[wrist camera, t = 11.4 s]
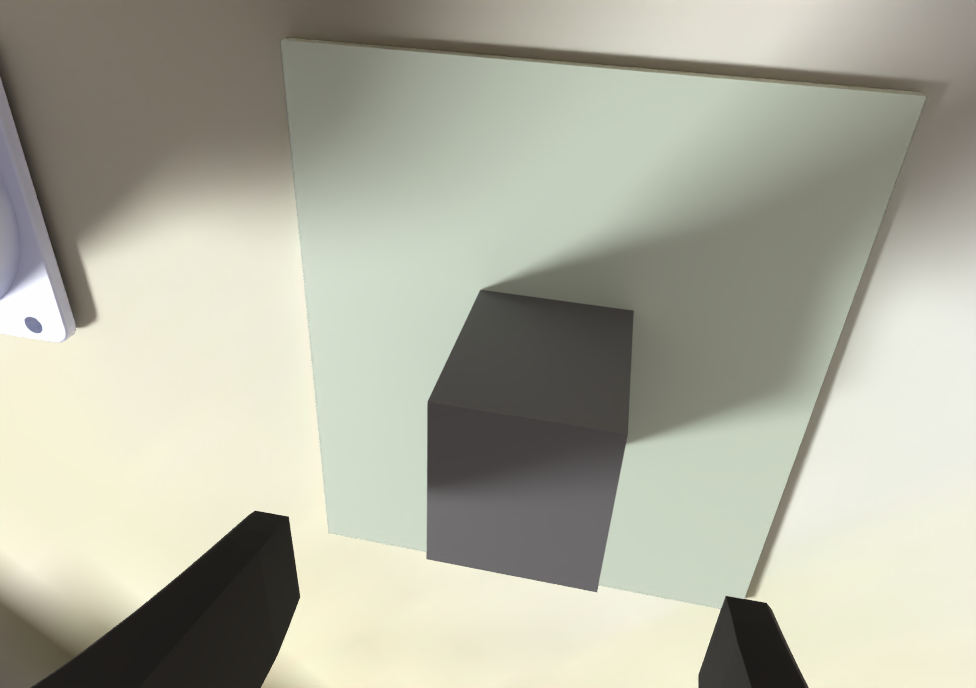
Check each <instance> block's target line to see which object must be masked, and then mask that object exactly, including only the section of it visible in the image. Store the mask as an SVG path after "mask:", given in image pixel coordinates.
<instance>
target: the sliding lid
mask: <svg viewBox="0 0 976 688" xmlns="http://www.w3.org/2000/svg"><path fill="white" fill-rule="evenodd" d="M280 42H281V53H282V63H283V73H284V83H285V93H286V104H287V114H288V124H289V134H290V144H291V155H292V165H293V175H294V185H295V195H296V206H297V216H298V226H299V236H300V246H301V257H302V267H303V277H304V287H305V297H306V308H307V318H308V328H309V338H310V348H311V359H312V369H313V379H314V389H315V399H316V410H317V420H318V430H319V440H320V450H321V461H322V471H323V481H324V491H325V501H326V512H327V522H328V532H329V533H331V534H336V535H341V536H346V537H351V538H356V539H362V540H367V541H372V542H377V543H382V544H387V545H393V546H398V547H403V548H408V549H413V550H418V551H424V552H427V559H429V560H434V561H440V562H445V563H450V564H455V565H460V566H465V567H470V568H475V569H481V570H486V571H491V572H496V573H501V574H506V575H511V576H516V577H522V578H527V579H532V580H537V581H542V582H547V583H552V584H557V585H563V586H568V587H573V588H578V589H583V590H588V591H593V592H597V589H598V585H599V586H605V587H610V588H615V589H620V590H625V591H630V592H636V593H641V594H646V595H651V596H656V597H661V598H667V599H672V600H677V601H682V602H687V603H692V604H698V605H703V606H708V607H713V608H718V609H721V608H722V605H723V602H724V599H725V596H730V597H736V598H741V599H744V598H745V596H746V593H747V590H748V587H749V585H750V582H751V579H752V576H753V574H754V571H755V568H756V565H757V563H758V560H759V557H760V554H761V552H762V549H763V546H764V543H765V541H766V538H767V535H768V532H769V530H770V527H771V524H772V521H773V519H774V516H775V513H776V510H777V508H778V505H779V502H780V499H781V497H782V494H783V491H784V488H785V486H786V483H787V480H788V477H789V475H790V472H791V469H792V466H793V464H794V461H795V458H796V455H797V452H798V450H799V447H800V444H801V441H802V439H803V436H804V433H805V430H806V428H807V425H808V422H809V419H810V417H811V414H812V411H813V408H814V406H815V403H816V400H817V397H818V395H819V392H820V389H821V386H822V384H823V381H824V378H825V375H826V373H827V370H828V367H829V364H830V362H831V359H832V356H833V353H834V351H835V348H836V345H837V342H838V340H839V337H840V334H841V331H842V329H843V326H844V323H845V320H846V318H847V315H848V312H849V309H850V307H851V304H852V301H853V298H854V296H855V293H856V290H857V287H858V285H859V282H860V279H861V276H862V274H863V271H864V268H865V265H866V263H867V260H868V257H869V254H870V252H871V249H872V246H873V243H874V241H875V238H876V235H877V232H878V230H879V227H880V224H881V221H882V219H883V216H884V213H885V210H886V207H887V205H888V202H889V199H890V196H891V194H892V191H893V188H894V185H895V183H896V180H897V177H898V174H899V172H900V169H901V166H902V163H903V161H904V158H905V155H906V152H907V150H908V147H909V144H910V141H911V139H912V136H913V133H914V130H915V128H916V125H917V122H918V119H919V117H920V114H921V111H922V108H923V106H924V103H925V100H926V97H927V96H925V95H924V94H922V93H921V92H915V91H904V90H892V89H880V88H869V87H857V86H845V85H834V84H822V83H811V82H799V81H787V80H776V79H764V78H752V77H741V76H729V75H717V74H706V73H694V72H683V71H671V70H659V69H648V68H636V67H624V66H613V65H601V64H589V63H578V62H566V61H555V60H543V59H531V58H520V57H508V56H496V55H485V54H473V53H462V52H450V51H438V50H427V49H415V48H403V47H392V46H380V45H368V44H357V43H345V42H334V41H322V40H310V39H299V38H284V39H281V40H280Z"/></svg>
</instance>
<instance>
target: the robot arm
mask: <svg viewBox="0 0 976 688" xmlns="http://www.w3.org/2000/svg"><path fill="white" fill-rule="evenodd" d="M75 331H76V325H75V321H74V318H73V314H72V311H71V308H70V304H69V301H68V298H67V295H66V291H65V288H64V285H63V281H62V278H61V275H60V272H59V268H58V265H57V262H56V258H55V255H54V252H53V248H52V245H51V242H50V239H49V235H48V232H47V229H46V225H45V222H44V219H43V216H42V212H41V209H40V206H39V202H38V199H37V196H36V193H35V189H34V186H33V183H32V179H31V176H30V173H29V170H28V166H27V163H26V160H25V156H24V153H23V150H22V146H21V143H20V140H19V137H18V133H17V130H16V127H15V123H14V120H13V117H12V114H11V110H10V107H9V104H8V100H7V97H6V94H5V91H4V87H3V84H2V81H1V77H0V334H7V335H13V336H19V337H26V338H32V339H38V340H45V341H51V342H63V341H65V340H66V339H68V338H69V337H71V336H72V335H73V334H74V333H75ZM299 598H300V593H299V586H298V579H297V572H296V565H295V558H294V551H293V544H292V537H291V530H290V523H289V517H287V516H282V515H276V514H271V513H265V512H260V511H254V512H253V513H251V514H250V515H248V516H247V517H246V518H245V519H244V520H243V521H242V522H240V523H239V524H238V525H237V526H236V527H235V528H233V529H232V530H231V531H230V532H229V533H228V534H227V535H225V536H224V537H223V538H222V539H221V540H220V541H219V542H217V543H216V544H215V545H214V546H213V547H212V548H210V549H209V550H208V551H207V552H206V553H205V554H204V555H202V556H201V557H200V558H199V559H198V560H197V561H195V562H194V563H193V564H192V565H191V566H190V567H188V568H187V569H186V570H185V571H184V572H183V573H181V574H180V575H179V576H178V577H177V578H175V579H174V580H173V581H172V582H170V583H169V584H168V585H167V586H166V587H164V588H163V589H162V590H161V591H160V592H158V593H157V594H156V595H155V596H153V597H152V598H151V599H150V600H149V601H147V602H146V603H145V604H144V605H143V606H141V607H140V608H139V609H138V610H136V611H135V612H134V613H132V614H131V615H130V616H129V617H127V618H126V619H125V620H123V621H122V622H121V623H119V624H118V625H117V626H116V627H114V628H113V629H112V630H110V631H109V632H108V633H106V634H105V635H104V636H102V637H101V638H100V639H98V640H97V641H96V642H94V643H93V644H92V645H91V646H89V647H88V648H87V649H85V650H84V651H83V652H81V653H80V654H78V655H77V656H76V657H74V658H73V659H71V660H70V661H69V662H67V663H66V664H64V665H63V666H62V667H60V668H59V669H57V670H56V671H55V672H53V673H52V674H50V675H49V676H47V677H46V678H44V679H43V680H41V681H40V682H38V683H37V684H35V685H34V686H32V687H31V688H261V686H262V684H263V682H264V680H265V678H266V677H267V675H268V673H269V671H270V669H271V667H272V665H273V663H274V661H275V659H276V657H277V655H278V653H279V650H280V648H281V645H282V643H283V640H284V638H285V635H286V633H287V630H288V628H289V625H290V622H291V620H292V617H293V614H294V612H295V609H296V606H297V604H298V601H299ZM699 688H808V686H807V684H806V682H805V680H804V678H803V676H802V674H801V672H800V670H799V668H798V665H797V663H796V661H795V659H794V657H793V655H792V653H791V651H790V649H789V647H788V645H787V642H786V640H785V638H784V636H783V634H782V632H781V629H780V627H779V625H778V623H777V621H776V618H775V616H774V614H773V611H772V609H771V608H770V607H769V606H768V604H767V603H763V602H758V601H752V600H747V599H741V598H736V597H730V596H725V599H724V602H723V605H722V608H721V611H720V614H719V617H718V620H717V623H716V626H715V628H714V631H713V634H712V637H711V640H710V643H709V646H708V649H707V652H706V655H705V658H704V661H703V663H702V666H701V669H700V672H699Z"/></svg>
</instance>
